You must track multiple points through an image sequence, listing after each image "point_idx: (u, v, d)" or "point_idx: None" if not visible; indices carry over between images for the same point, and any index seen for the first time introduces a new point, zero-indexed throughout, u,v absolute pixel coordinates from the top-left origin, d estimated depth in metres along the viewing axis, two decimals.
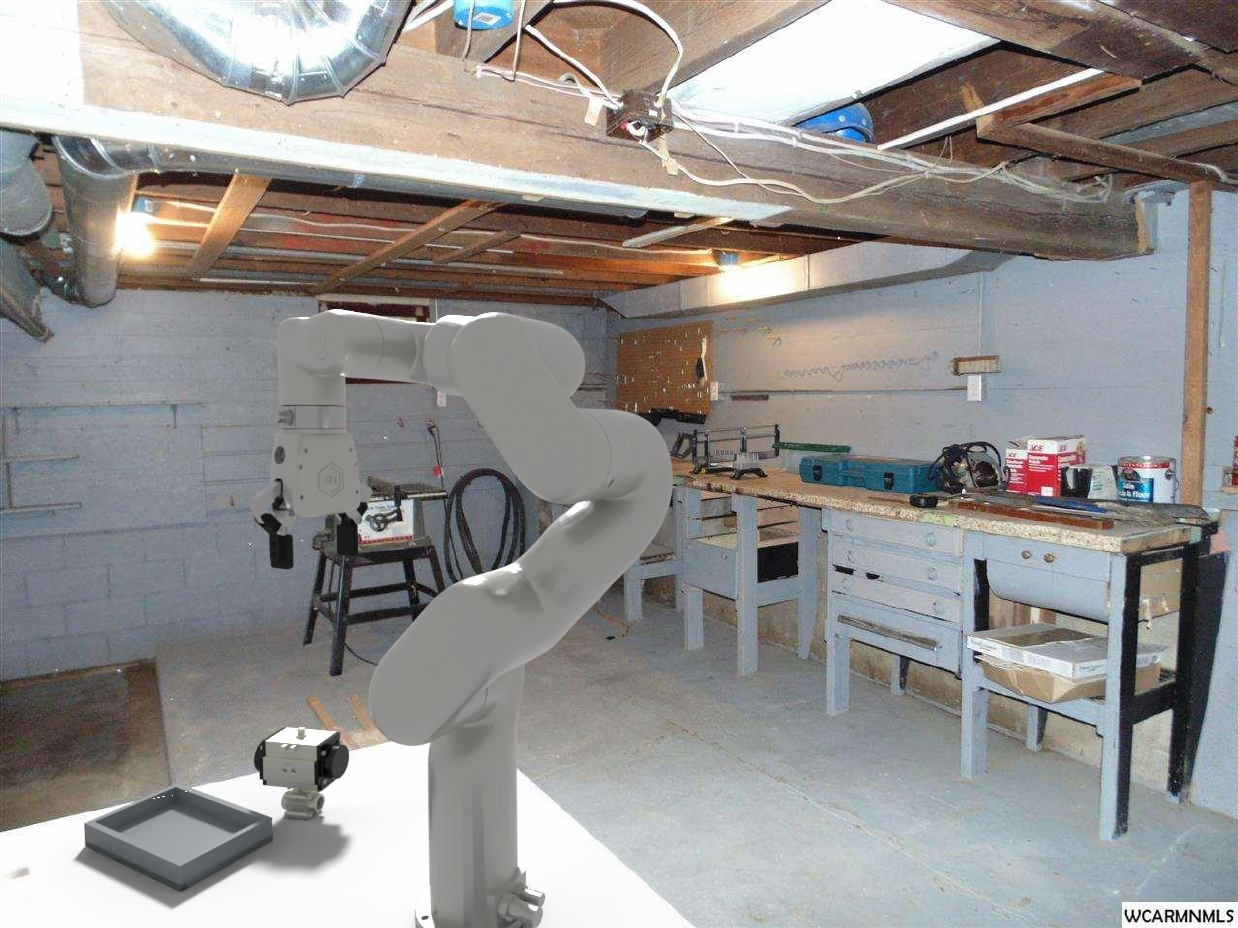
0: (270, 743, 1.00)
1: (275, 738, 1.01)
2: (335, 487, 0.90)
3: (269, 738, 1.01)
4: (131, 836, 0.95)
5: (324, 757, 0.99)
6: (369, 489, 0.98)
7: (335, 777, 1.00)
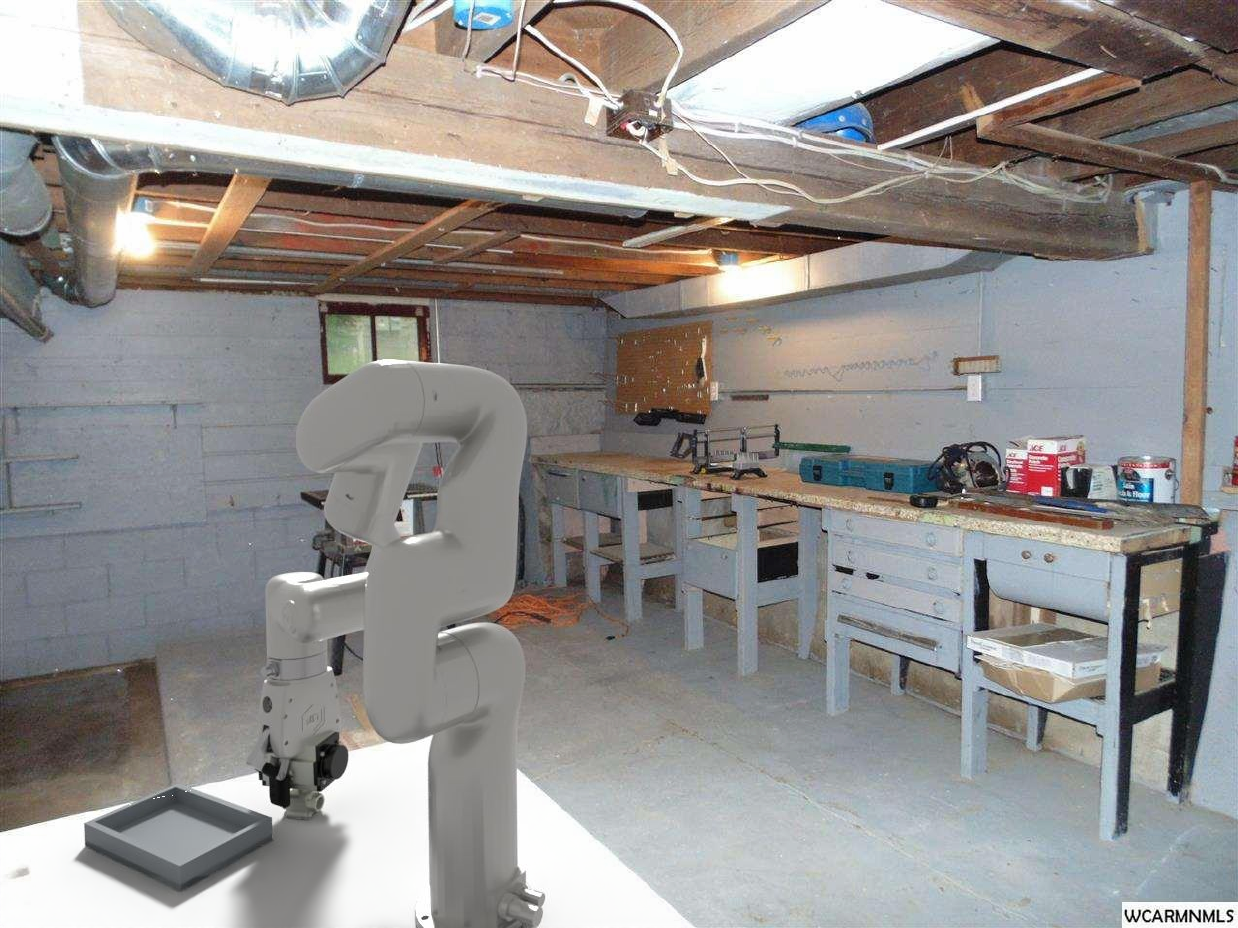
0: None
1: None
2: (317, 724, 1.01)
3: None
4: (131, 836, 0.95)
5: (323, 758, 0.99)
6: (344, 721, 1.08)
7: (334, 777, 1.00)
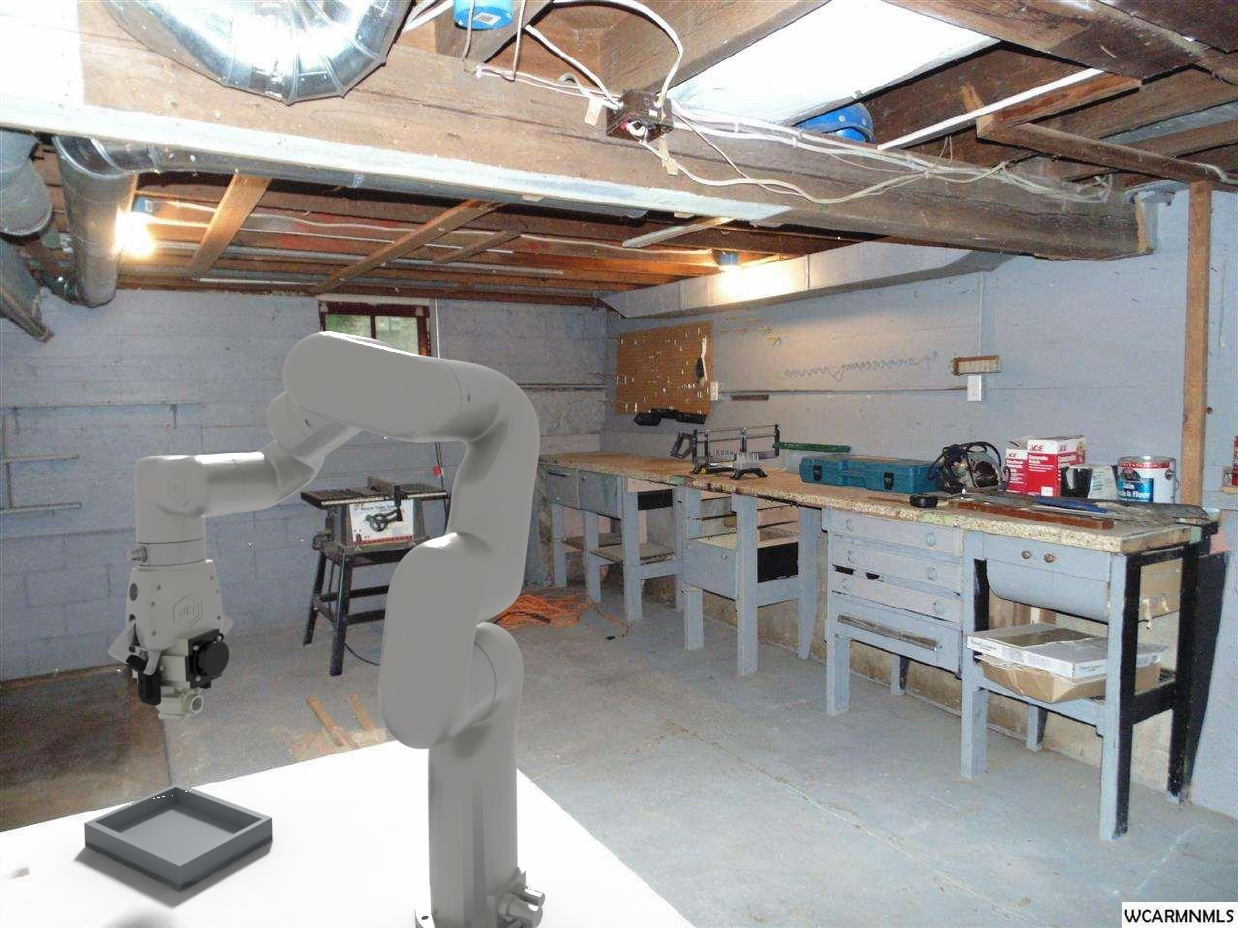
0: None
1: None
2: (192, 617, 0.93)
3: None
4: (131, 836, 0.95)
5: (197, 652, 0.91)
6: (230, 621, 1.00)
7: (210, 674, 0.92)
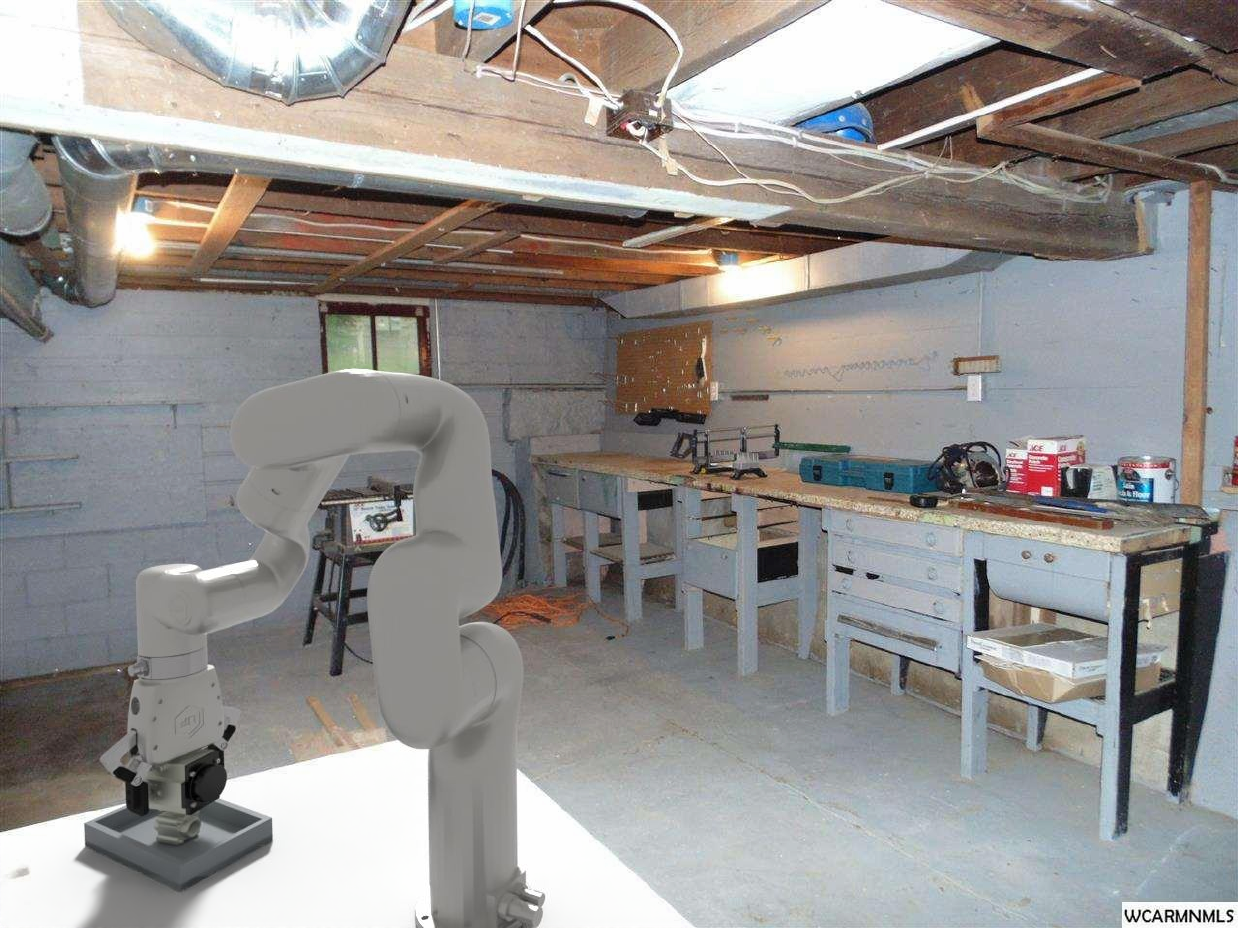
0: None
1: None
2: (194, 727, 0.94)
3: None
4: (131, 836, 0.95)
5: (193, 778, 0.92)
6: (237, 710, 1.01)
7: (205, 800, 0.92)
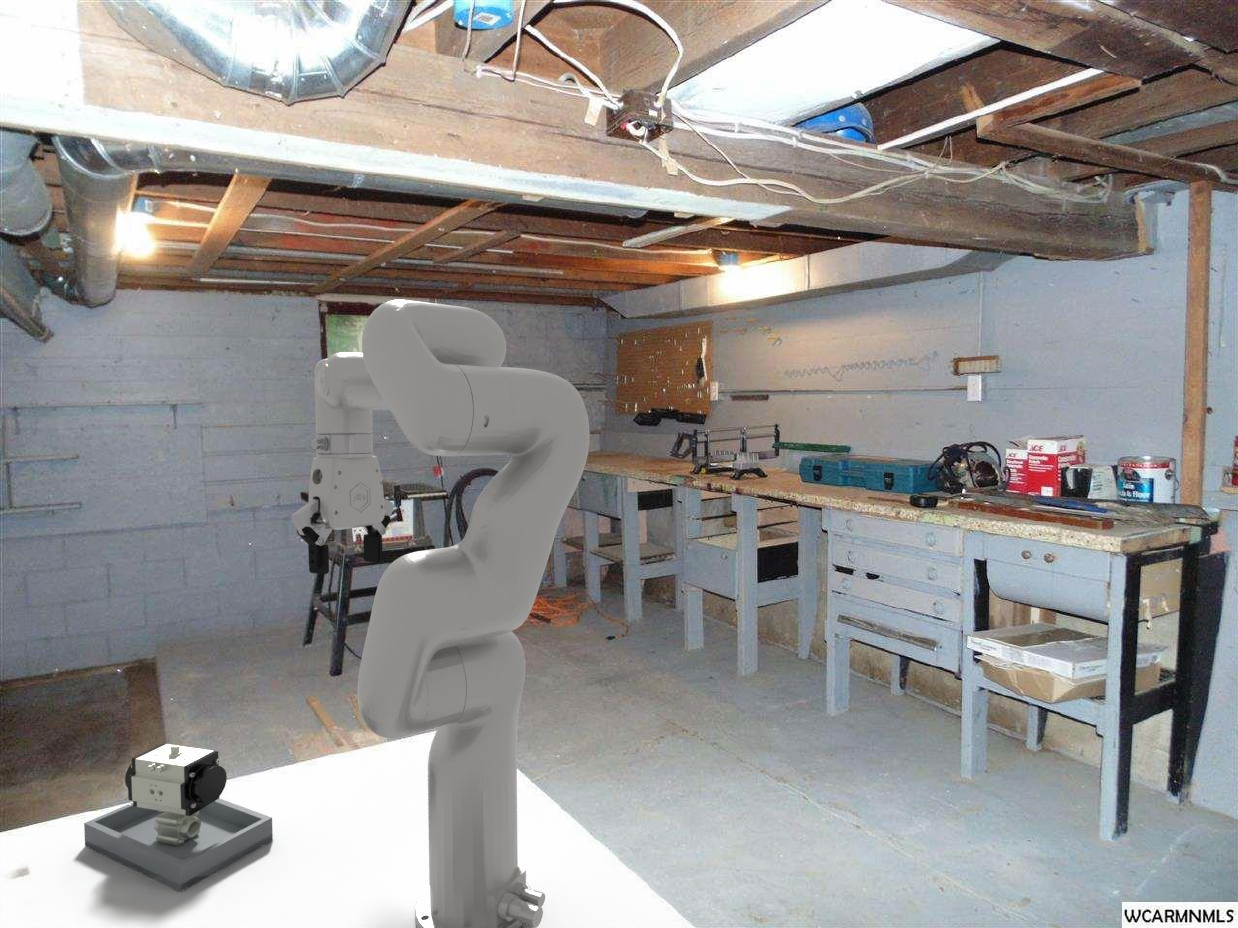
0: (140, 761, 0.93)
1: (147, 756, 0.94)
2: (363, 503, 1.04)
3: (141, 756, 0.94)
4: (131, 836, 0.95)
5: (193, 779, 0.91)
6: (391, 504, 1.12)
7: (205, 801, 0.92)
